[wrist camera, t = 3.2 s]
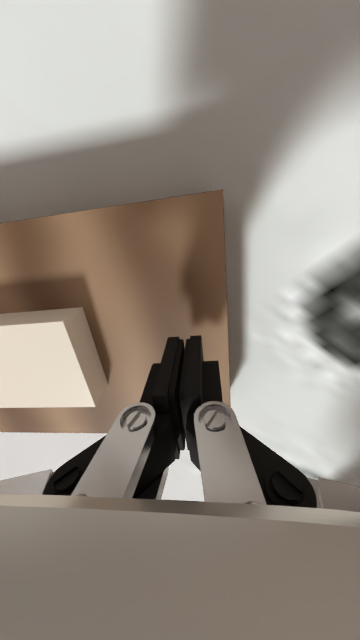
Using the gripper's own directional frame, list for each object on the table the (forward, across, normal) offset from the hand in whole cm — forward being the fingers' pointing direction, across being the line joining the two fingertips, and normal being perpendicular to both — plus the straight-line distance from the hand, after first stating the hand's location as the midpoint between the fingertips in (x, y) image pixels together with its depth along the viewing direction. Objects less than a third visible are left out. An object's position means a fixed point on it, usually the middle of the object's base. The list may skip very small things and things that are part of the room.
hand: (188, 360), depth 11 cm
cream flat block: (+2, +11, 0) cm, 11 cm away
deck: (+6, +8, +1) cm, 10 cm away
